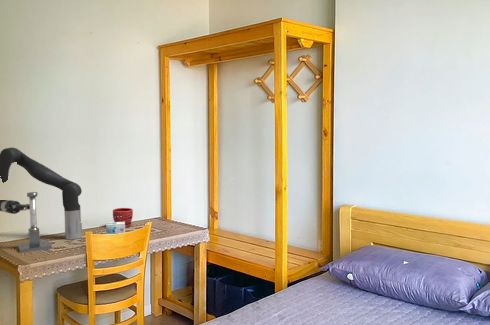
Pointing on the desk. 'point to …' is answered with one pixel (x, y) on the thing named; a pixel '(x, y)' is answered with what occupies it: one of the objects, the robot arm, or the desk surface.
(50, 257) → the desk surface
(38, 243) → the stand
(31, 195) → the jack column
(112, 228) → the light bulb box
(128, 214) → the plant pot
